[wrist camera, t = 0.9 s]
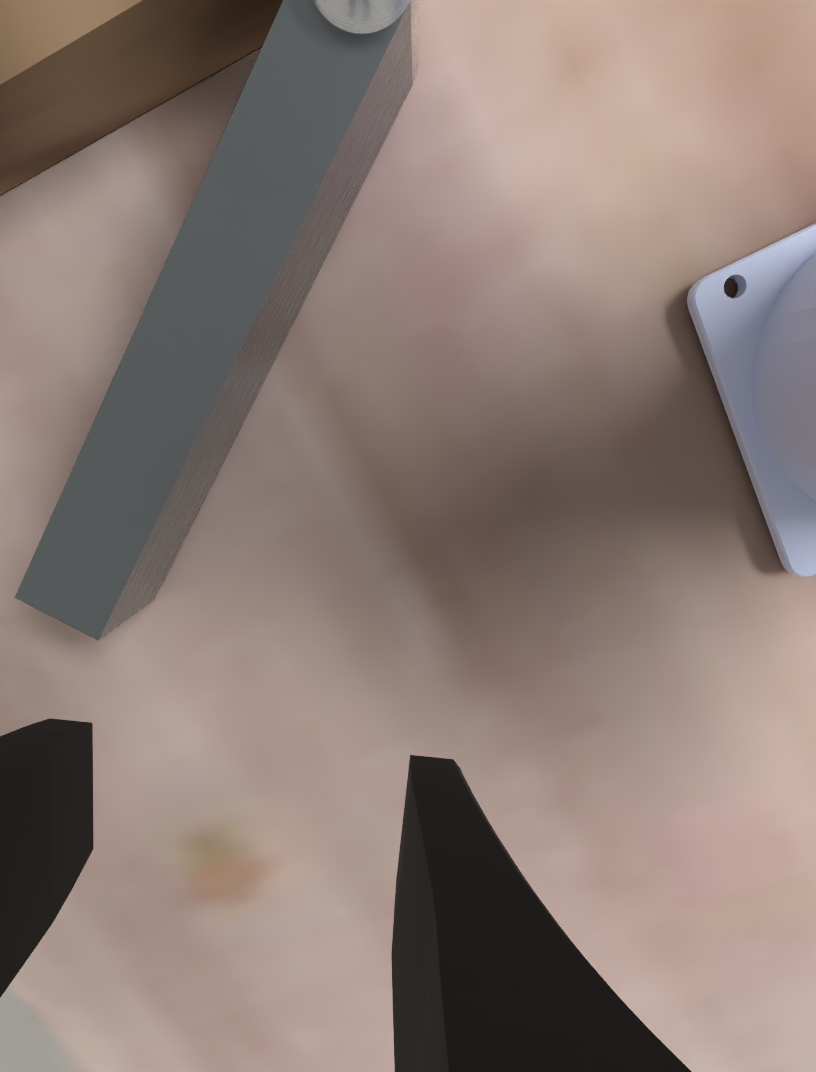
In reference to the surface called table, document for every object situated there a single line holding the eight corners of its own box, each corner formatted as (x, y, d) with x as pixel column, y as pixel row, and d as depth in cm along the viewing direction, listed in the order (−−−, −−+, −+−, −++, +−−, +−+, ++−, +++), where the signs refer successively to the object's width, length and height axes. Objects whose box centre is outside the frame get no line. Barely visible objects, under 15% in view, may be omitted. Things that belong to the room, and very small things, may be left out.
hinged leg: (356, -11, 14) (334, -149, 10) (434, 40, 14) (439, -78, 10) (86, 562, 17) (0, 604, 13) (154, 598, 17) (86, 649, 13)
